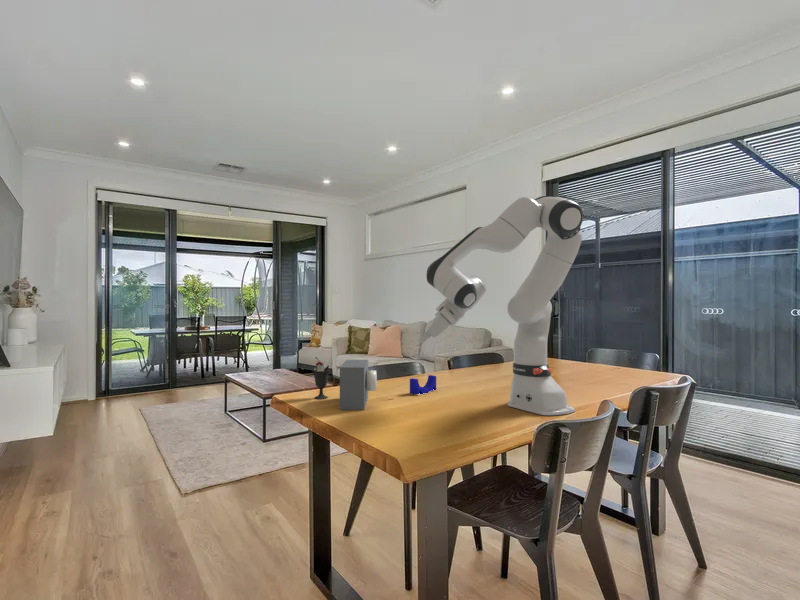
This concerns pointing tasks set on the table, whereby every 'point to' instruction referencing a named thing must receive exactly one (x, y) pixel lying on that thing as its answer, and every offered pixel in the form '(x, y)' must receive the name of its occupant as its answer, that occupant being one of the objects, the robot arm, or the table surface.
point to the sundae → (321, 378)
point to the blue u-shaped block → (428, 387)
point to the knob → (371, 380)
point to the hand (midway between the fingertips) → (419, 342)
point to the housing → (353, 385)
